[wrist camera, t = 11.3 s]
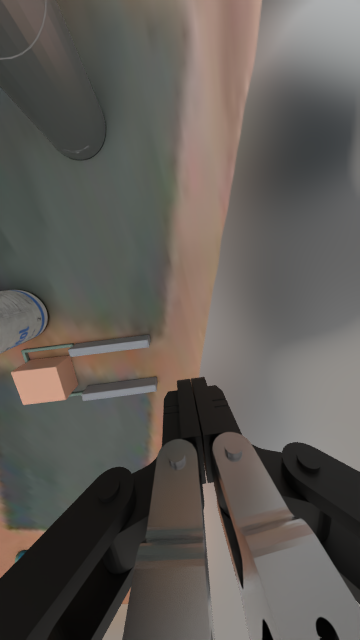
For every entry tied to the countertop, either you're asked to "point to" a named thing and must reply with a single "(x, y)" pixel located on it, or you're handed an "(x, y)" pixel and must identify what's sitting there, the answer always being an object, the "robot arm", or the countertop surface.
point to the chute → (122, 386)
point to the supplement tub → (20, 318)
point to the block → (45, 379)
